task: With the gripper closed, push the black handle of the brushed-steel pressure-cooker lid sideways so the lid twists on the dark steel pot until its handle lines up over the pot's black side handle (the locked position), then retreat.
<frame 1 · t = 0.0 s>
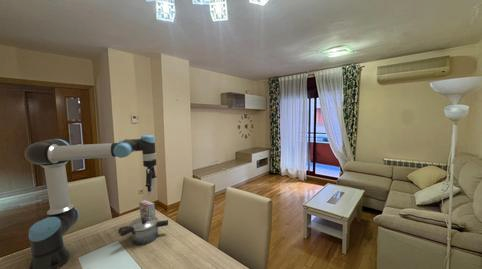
hand: (152, 191, 125), 28 cm above the table, fingers open, 13 cm apart
lid: (139, 223, 119), point 11 cm above the table, hinge at 40.0°
pot: (145, 237, 122), on the table
candy bar box: (148, 224, 137), on the table
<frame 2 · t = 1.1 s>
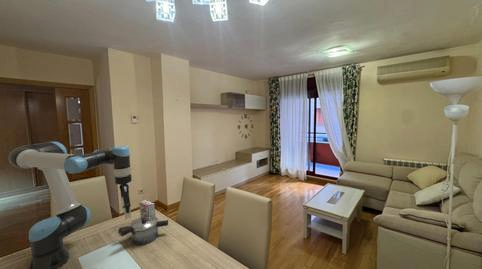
hand: (126, 212, 106), 24 cm above the table, fingers open, 13 cm apart
nothing on the table moved.
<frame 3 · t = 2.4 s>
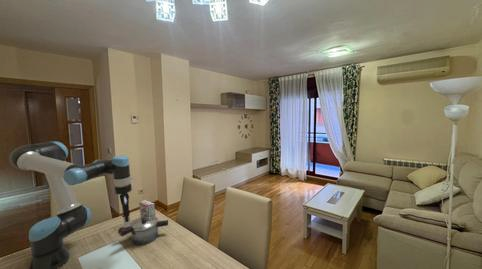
hand: (127, 226, 106), 17 cm above the table, fingers closed
nothing on the table moved.
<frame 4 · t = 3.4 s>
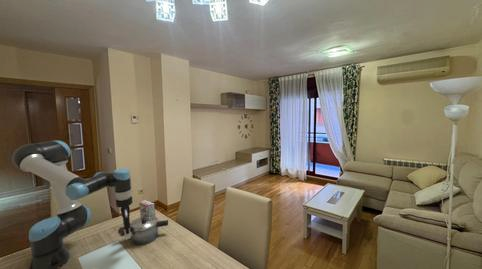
hand: (127, 238, 107), 10 cm above the table, fingers closed
nothing on the table moved.
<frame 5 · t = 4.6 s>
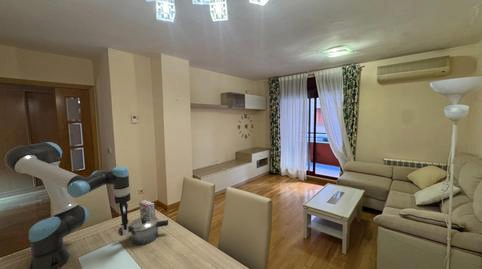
hand: (125, 233, 111), 10 cm above the table, fingers closed
lid: (139, 223, 119), point 11 cm above the table, hinge at 35.9°, touching gripper
everything else where it was.
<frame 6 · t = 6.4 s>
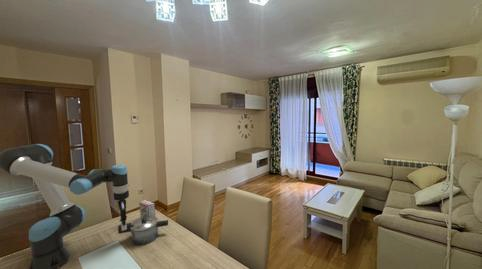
hand: (124, 229, 115), 10 cm above the table, fingers closed
lid: (138, 222, 120), point 11 cm above the table, hinge at 7.3°, touching gripper
everything else where it was.
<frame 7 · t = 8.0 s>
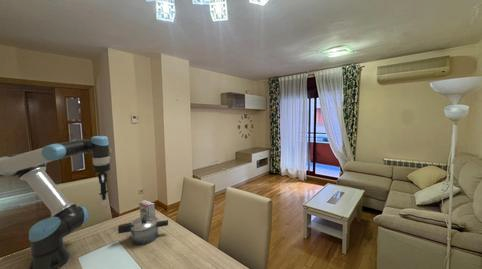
hand: (104, 204, 110), 27 cm above the table, fingers closed
lid: (138, 222, 120), point 11 cm above the table, hinge at 7.3°
everything else where it was.
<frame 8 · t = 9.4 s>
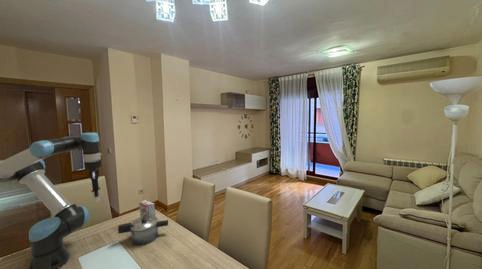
hand: (97, 201, 109), 29 cm above the table, fingers closed
nothing on the table moved.
at the end: lid at +7° (first picture: +40°) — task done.
